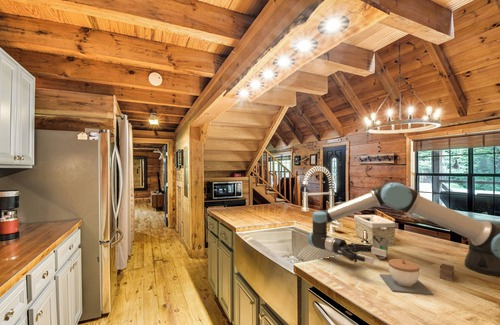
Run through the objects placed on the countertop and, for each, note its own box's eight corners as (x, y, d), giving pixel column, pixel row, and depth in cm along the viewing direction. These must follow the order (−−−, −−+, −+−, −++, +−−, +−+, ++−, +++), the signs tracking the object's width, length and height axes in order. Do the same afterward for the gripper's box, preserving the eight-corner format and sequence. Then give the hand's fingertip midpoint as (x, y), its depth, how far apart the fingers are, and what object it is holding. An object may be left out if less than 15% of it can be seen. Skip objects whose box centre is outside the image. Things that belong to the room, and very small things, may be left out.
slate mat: (414, 277, 102) (414, 276, 102) (433, 295, 88) (433, 293, 88) (379, 275, 105) (379, 274, 105) (392, 291, 91) (392, 290, 91)
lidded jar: (426, 286, 94) (425, 262, 94) (407, 291, 90) (407, 266, 90) (400, 275, 104) (399, 253, 104) (382, 279, 100) (382, 257, 100)
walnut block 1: (442, 272, 108) (442, 263, 108) (453, 275, 105) (453, 266, 105) (440, 274, 105) (440, 265, 105) (452, 277, 102) (451, 268, 102)
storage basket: (397, 246, 143) (397, 222, 144) (371, 246, 143) (371, 222, 143) (375, 235, 167) (375, 214, 168) (353, 235, 167) (353, 214, 167)
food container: (393, 262, 119) (393, 242, 119) (380, 261, 120) (380, 241, 120) (384, 253, 131) (384, 235, 131) (372, 252, 132) (372, 235, 132)
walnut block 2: (442, 276, 104) (442, 267, 104) (454, 279, 101) (453, 269, 101) (440, 278, 101) (439, 269, 101) (452, 282, 98) (451, 272, 98)
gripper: (348, 247, 128) (391, 259, 112) (322, 258, 112) (367, 274, 96) (348, 233, 128) (390, 243, 112) (321, 243, 112) (366, 255, 96)
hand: (380, 257), depth 104 cm, fingers open, 13 cm apart
